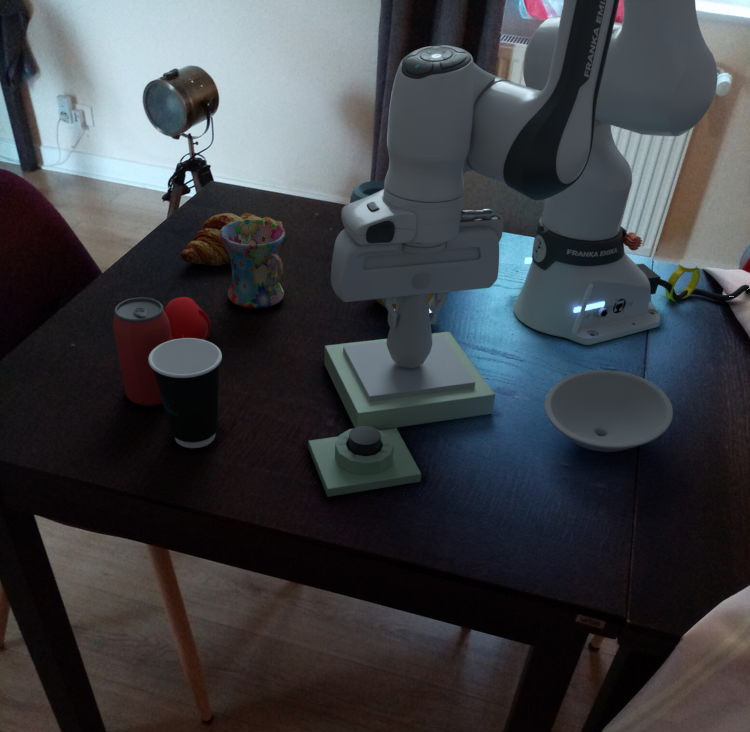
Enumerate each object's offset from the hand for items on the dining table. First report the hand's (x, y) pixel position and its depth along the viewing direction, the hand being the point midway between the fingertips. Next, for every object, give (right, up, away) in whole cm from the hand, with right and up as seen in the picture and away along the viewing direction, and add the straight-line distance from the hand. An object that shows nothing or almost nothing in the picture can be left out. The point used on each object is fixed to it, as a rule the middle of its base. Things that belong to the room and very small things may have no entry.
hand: (411, 324), depth 97 cm
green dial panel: (-6, -18, -6) cm, 20 cm away
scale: (0, -7, +6) cm, 10 cm away
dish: (+23, -14, 0) cm, 27 cm away
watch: (+45, +11, +30) cm, 55 cm away
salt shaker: (0, -4, +4) cm, 5 cm away
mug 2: (-4, +21, +38) cm, 43 cm away
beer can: (-33, -9, +3) cm, 34 cm away
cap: (-31, 0, +13) cm, 33 cm away
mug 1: (-22, +8, +22) cm, 32 cm away
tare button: (-6, -16, -8) cm, 19 cm away
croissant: (-28, +19, +34) cm, 48 cm away
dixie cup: (-26, -14, -3) cm, 30 cm away
